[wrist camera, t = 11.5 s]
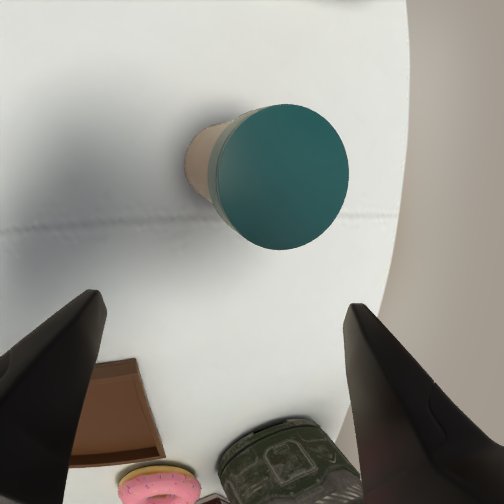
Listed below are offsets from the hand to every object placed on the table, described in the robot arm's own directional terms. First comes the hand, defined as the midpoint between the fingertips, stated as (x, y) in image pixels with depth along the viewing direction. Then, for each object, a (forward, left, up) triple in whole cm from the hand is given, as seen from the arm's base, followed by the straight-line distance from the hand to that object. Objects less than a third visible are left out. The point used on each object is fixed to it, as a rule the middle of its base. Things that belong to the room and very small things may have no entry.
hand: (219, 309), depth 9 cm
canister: (+10, -34, -15) cm, 38 cm away
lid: (+5, +3, -5) cm, 7 cm away
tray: (-11, -19, -14) cm, 26 cm away
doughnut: (-6, -34, -15) cm, 37 cm away
